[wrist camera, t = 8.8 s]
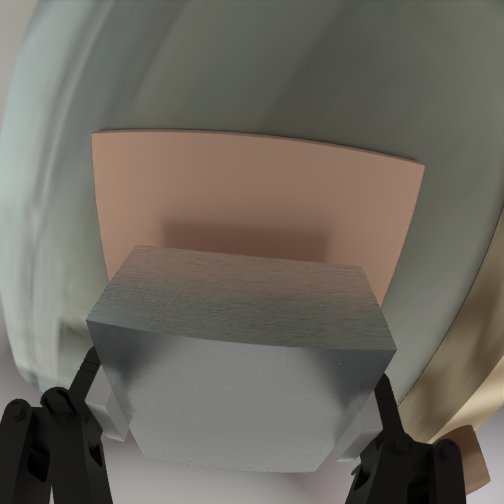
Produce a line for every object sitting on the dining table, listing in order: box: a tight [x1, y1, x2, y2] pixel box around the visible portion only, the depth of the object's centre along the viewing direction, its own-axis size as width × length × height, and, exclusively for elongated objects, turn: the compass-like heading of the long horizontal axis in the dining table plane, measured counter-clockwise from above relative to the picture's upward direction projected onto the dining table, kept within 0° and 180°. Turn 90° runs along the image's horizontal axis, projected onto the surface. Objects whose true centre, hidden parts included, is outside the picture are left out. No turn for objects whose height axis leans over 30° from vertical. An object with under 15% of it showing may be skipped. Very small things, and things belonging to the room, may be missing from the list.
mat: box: [92, 129, 425, 307], centre depth 15 cm, size 16×14×1 cm
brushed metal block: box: [86, 245, 397, 472], centre depth 11 cm, size 9×8×4 cm
